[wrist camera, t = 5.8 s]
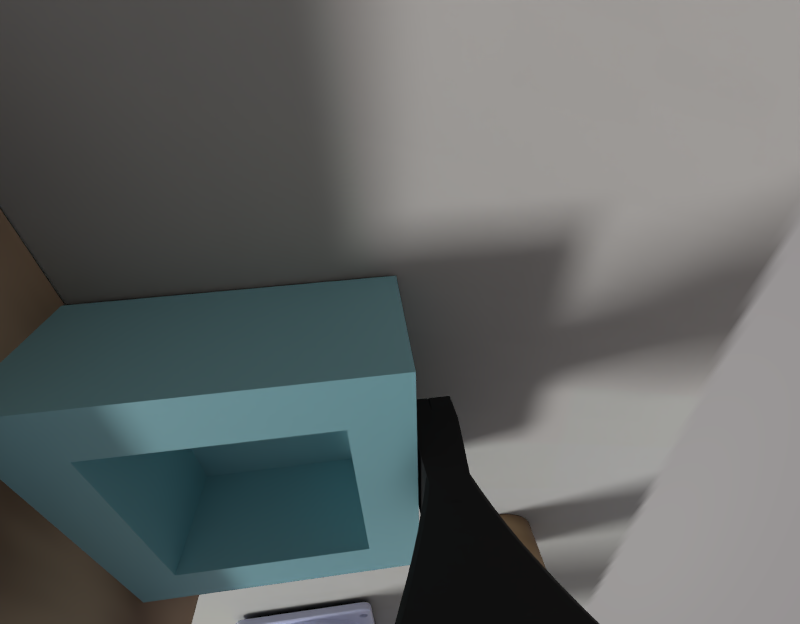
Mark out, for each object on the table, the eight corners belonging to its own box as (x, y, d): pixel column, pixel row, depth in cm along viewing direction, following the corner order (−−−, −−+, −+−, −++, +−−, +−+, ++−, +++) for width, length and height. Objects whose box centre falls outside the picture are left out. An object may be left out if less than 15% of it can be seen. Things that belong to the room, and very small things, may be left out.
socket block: (405, 461, 15) (419, 563, 12) (184, 488, 15) (143, 602, 12) (396, 275, 10) (415, 371, 7) (61, 305, 10) (-65, 423, 7)
